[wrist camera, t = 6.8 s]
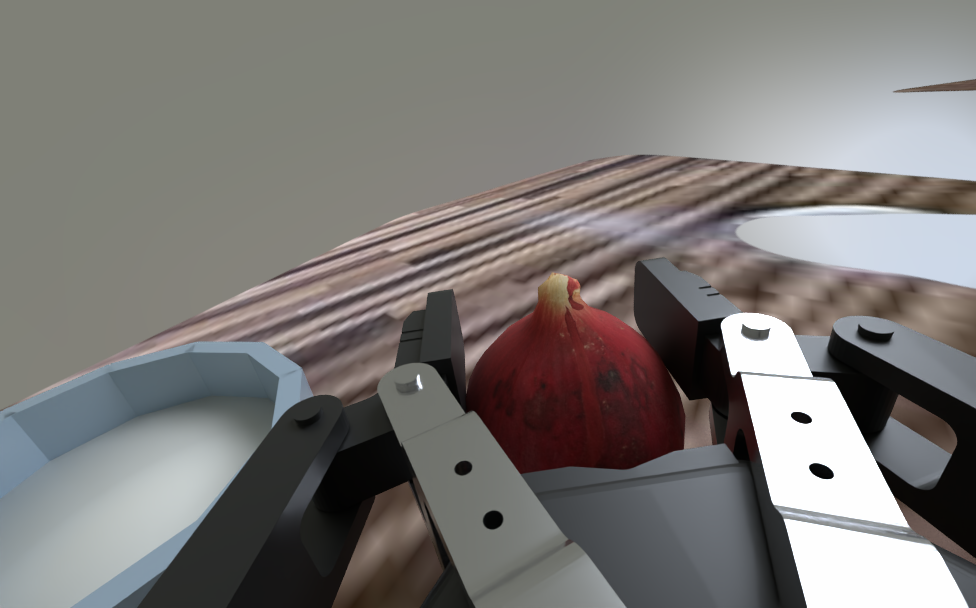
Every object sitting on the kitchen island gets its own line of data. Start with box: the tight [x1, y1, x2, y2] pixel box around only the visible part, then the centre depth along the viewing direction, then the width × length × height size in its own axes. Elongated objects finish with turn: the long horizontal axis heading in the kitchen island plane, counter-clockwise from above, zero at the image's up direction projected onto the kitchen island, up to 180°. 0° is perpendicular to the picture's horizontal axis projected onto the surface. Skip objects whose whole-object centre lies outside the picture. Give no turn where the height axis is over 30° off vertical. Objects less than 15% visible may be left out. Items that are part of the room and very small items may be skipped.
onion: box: [466, 273, 685, 475], centre depth 12 cm, size 6×6×8 cm
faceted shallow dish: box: [0, 342, 313, 608], centre depth 18 cm, size 16×16×4 cm
